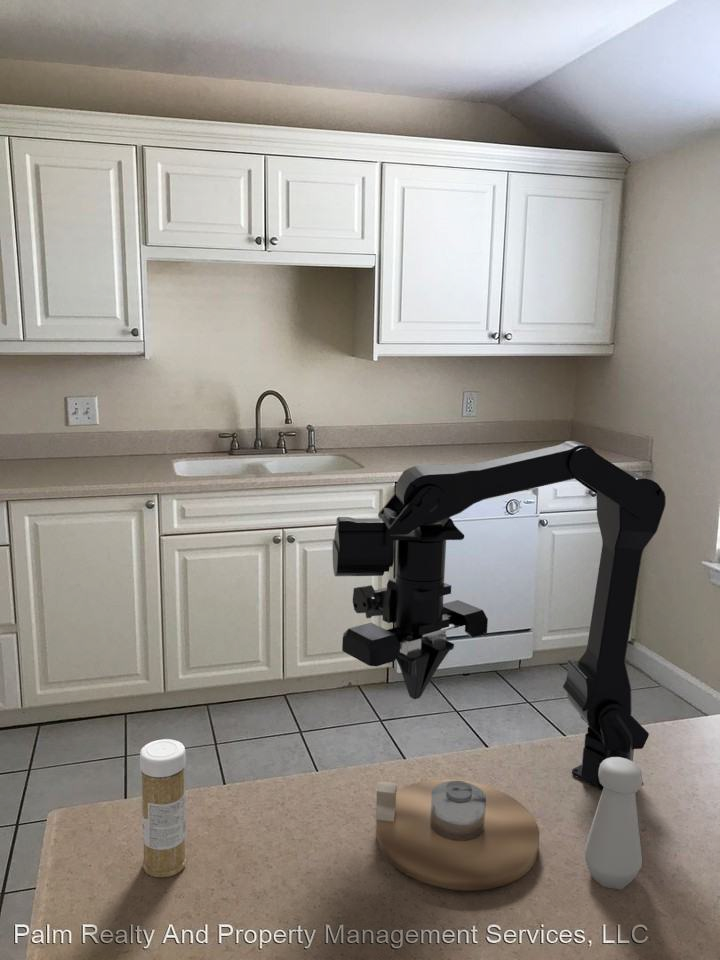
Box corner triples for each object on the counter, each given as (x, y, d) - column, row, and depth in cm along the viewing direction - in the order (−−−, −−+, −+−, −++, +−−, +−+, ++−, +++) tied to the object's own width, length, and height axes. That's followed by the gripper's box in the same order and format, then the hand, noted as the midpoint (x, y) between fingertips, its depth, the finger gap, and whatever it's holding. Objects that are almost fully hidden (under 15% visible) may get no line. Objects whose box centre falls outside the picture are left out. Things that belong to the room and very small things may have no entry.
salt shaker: (628, 859, 91) (639, 749, 88) (648, 895, 85) (660, 779, 82) (575, 858, 90) (585, 749, 88) (591, 894, 85) (602, 778, 82)
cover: (432, 805, 96) (433, 770, 95) (484, 812, 95) (486, 776, 94) (428, 837, 90) (429, 799, 89) (484, 844, 89) (486, 806, 88)
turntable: (386, 783, 103) (387, 746, 102) (534, 799, 100) (537, 761, 99) (365, 878, 85) (366, 834, 84) (543, 900, 83) (547, 856, 82)
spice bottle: (148, 851, 90) (146, 736, 87) (191, 852, 90) (189, 737, 87) (137, 879, 85) (134, 759, 82) (181, 880, 85) (179, 760, 82)
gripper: (431, 546, 110) (426, 657, 113) (315, 570, 98) (313, 692, 101) (494, 568, 101) (486, 687, 104) (375, 596, 90) (370, 729, 93)
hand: (414, 697), depth 101 cm, fingers closed
